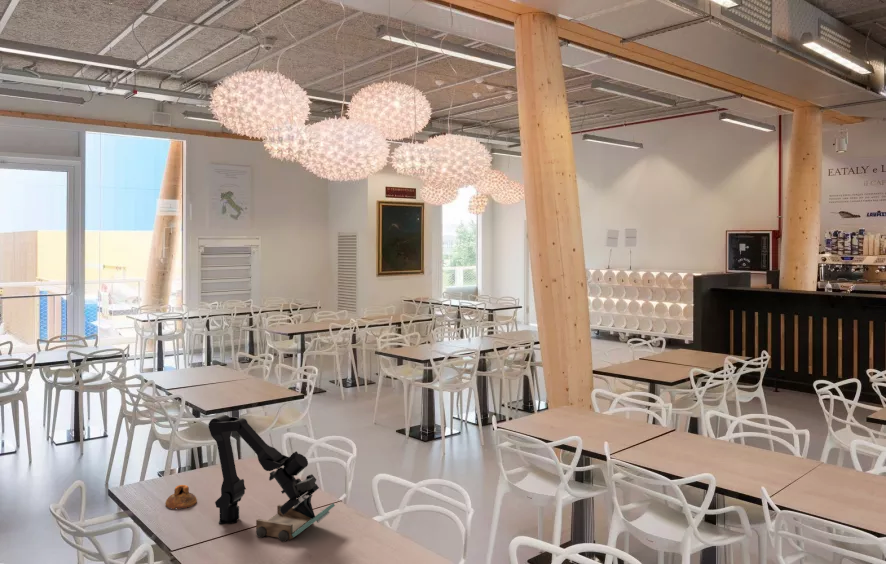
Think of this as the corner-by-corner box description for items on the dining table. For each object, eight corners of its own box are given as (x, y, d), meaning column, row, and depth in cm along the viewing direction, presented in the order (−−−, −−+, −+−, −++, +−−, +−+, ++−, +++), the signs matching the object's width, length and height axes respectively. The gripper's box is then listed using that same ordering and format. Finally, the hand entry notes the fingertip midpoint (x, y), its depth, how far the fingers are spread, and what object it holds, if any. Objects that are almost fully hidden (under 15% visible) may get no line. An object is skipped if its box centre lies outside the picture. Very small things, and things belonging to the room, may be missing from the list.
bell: (202, 499, 268) (201, 481, 268) (187, 510, 256) (187, 492, 256) (174, 497, 269) (174, 480, 269) (159, 509, 257) (159, 491, 257)
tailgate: (291, 534, 231) (313, 518, 228) (312, 518, 245) (333, 502, 242) (295, 539, 230) (316, 523, 227) (315, 523, 244) (336, 507, 241)
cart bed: (254, 536, 234) (254, 521, 234) (280, 517, 251) (280, 503, 250) (289, 542, 230) (289, 527, 229) (313, 522, 246) (313, 508, 246)
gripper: (289, 478, 228) (315, 515, 225) (315, 461, 245) (340, 496, 243) (268, 496, 231) (294, 533, 228) (295, 478, 248) (320, 512, 246)
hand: (313, 517), depth 236 cm, fingers closed, pressing on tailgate
